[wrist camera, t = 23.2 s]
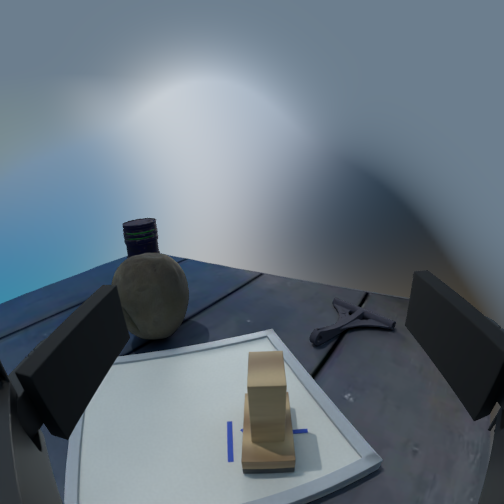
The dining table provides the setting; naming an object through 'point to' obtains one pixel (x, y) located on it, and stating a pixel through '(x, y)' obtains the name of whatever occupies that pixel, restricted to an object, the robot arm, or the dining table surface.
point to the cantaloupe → (152, 294)
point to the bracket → (349, 321)
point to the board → (204, 432)
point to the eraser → (267, 417)
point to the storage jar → (141, 236)
